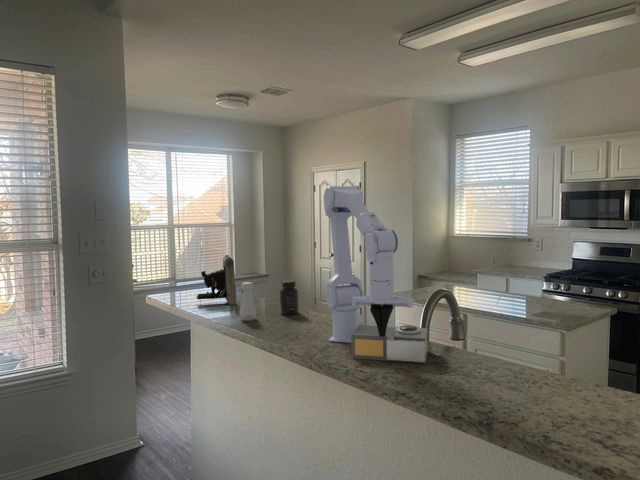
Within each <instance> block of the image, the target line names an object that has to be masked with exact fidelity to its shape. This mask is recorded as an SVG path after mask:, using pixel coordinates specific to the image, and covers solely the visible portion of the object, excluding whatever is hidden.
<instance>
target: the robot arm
mask: <svg viewBox="0 0 640 480" xmlns="http://www.w3.org/2000/svg"><path fill="white" fill-rule="evenodd" d="M363 193H364V192H363V190H362V188H361V187H360V185H327V187H326V188H325V190H324V194H323V205H324V206H323V207H324V214H325V216H326V217H328V218H329V220H330V228H331V229H330V231H331V243H332V252H333V253H332V254H333V264H334V266H333V267H334V275H333V276H332V277H331V278H329V280H328V281H327V282H326V286H325V287H326V290H325V291H326V292H325V301H326V304H327V306H328V307H329V308H330V309H331V310H332V336H331V337H330V338H329V340H328V342H331V343H333V342H334V343H350V344H351V334H352V333H353V332H354V331H355V329H356V328H357V327H358V326H359V325H360V313H359V309H360V307H361V306H368V307H370V309H369V311H370V313H371V315H372V316H373V317H372V318H373V320H374V321H375V324H376V326H377V328H378V331H379V336H380V337H385V335H386V328H387V326H388V324H389V320H390V318H391V315H392V312H393V310H394V308H395V307H398V308H400V307H403V308H404V307H405V308H409V309H411V308H413V307H414V301H413V300H414V298H413V297H411V298H410V297H402V296H398V297H397V296H395V284H394V283H395V275H394V271H395V269H394V268H395V267H394V254H395V253H396V252H397V250H398V247H399V238H398V234H397V232H396V231H395V230H394V229H392V228H391V229H389V228H387V227H386V226H385V225H384V224H383V222H382V221H381V219H380V218H379V217H378V216H377V214H376V213H375V212H374V211H369V210H368V208H367V206H366V205H365V203H364V201H363V197H364V194H363ZM353 216H354V218H356V222H355V224H356V227H357V229H358V231H359V233H360V234H361V236H362V237H363V238H364V247H365V250H366V257H367V262H369V295H368V296H367V295H364V289H363V287H362V282H361V279H360V278H359V277H357V276H355V274H353V267H352V256H351V248H350V247H351V245H350V235H349V234H350V233H349V226H348V223H349V222H348V221H349V218H350V217H353Z"/></svg>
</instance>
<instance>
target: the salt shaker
mask: <svg viewBox="0 0 640 480" xmlns="http://www.w3.org/2000/svg"><path fill="white" fill-rule="evenodd" d="M254 287H255V286H254V283H253V282H251V281H246V282H242V283H241V285H240V289H241V290H242V295H241V300H240V301H241V303H240V307H239V308H240V309H239V316H240V317H241V319H242V321H247V322H248V321H250V322H251V321H254V320H255V318H256V316H257V307H256V302H255V297H254V294H253V289H254Z"/></svg>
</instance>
